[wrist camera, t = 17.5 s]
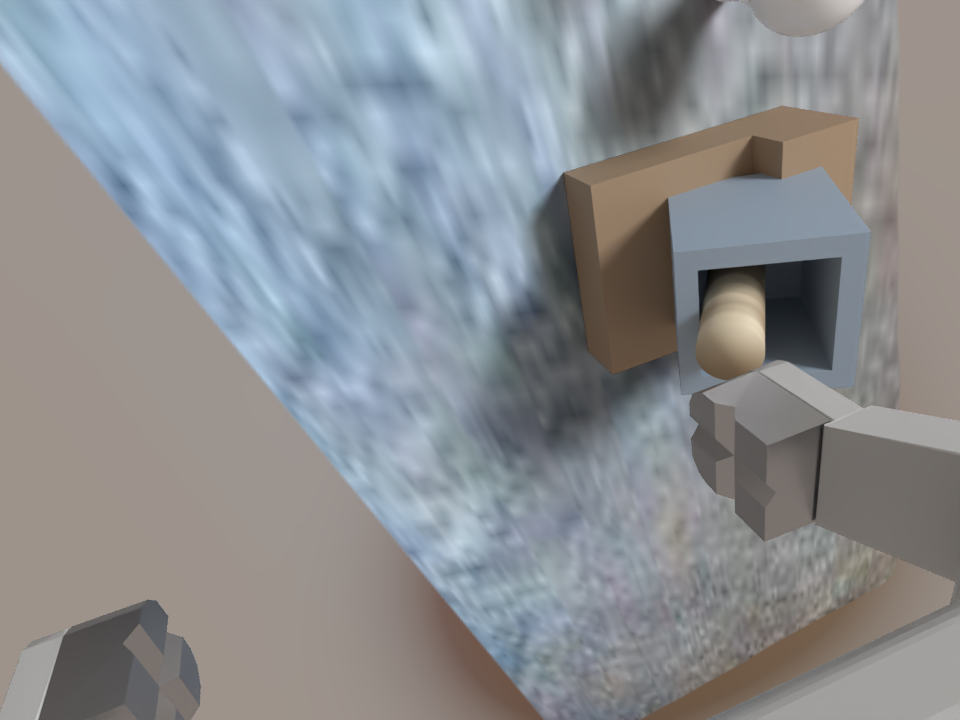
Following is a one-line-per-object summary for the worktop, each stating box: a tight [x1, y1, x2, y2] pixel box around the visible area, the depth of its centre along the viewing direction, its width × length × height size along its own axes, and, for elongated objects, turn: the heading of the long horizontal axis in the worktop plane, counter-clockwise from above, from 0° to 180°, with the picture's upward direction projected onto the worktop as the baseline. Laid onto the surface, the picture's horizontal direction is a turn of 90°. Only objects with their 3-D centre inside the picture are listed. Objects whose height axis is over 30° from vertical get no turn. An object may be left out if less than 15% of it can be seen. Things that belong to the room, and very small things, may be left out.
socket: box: [564, 106, 871, 395], centre depth 41 cm, size 14×17×16 cm
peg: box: [695, 264, 765, 380], centre depth 39 cm, size 3×3×12 cm
